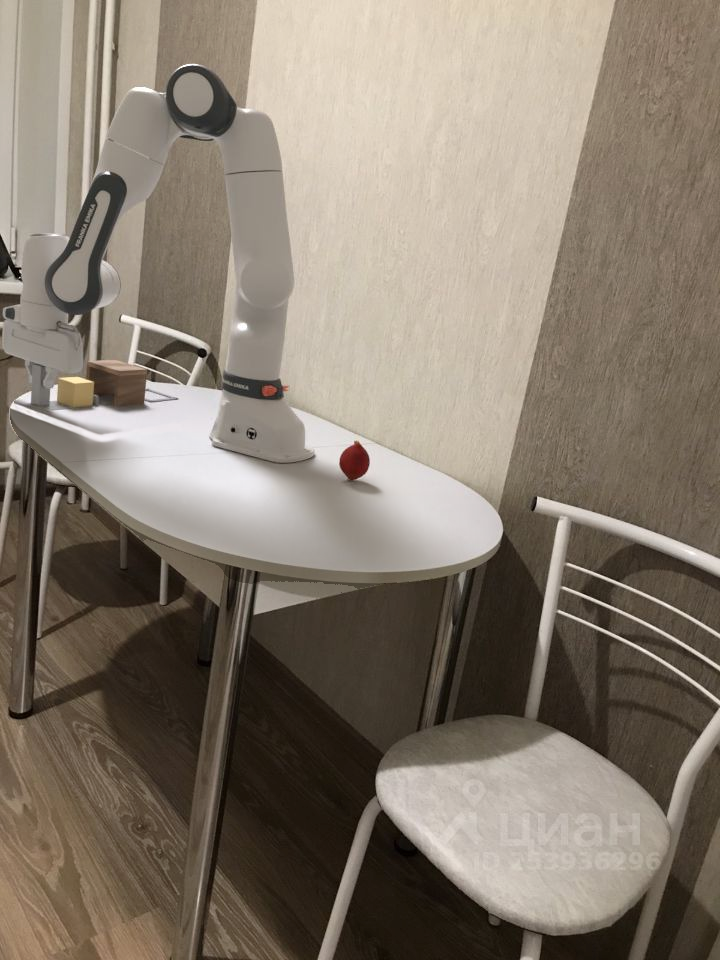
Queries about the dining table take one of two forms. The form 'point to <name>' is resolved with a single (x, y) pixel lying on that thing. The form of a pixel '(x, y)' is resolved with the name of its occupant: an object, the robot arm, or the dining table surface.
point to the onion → (354, 461)
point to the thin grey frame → (160, 394)
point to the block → (75, 391)
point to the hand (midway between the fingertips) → (40, 385)
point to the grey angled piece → (42, 394)
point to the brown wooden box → (118, 381)
